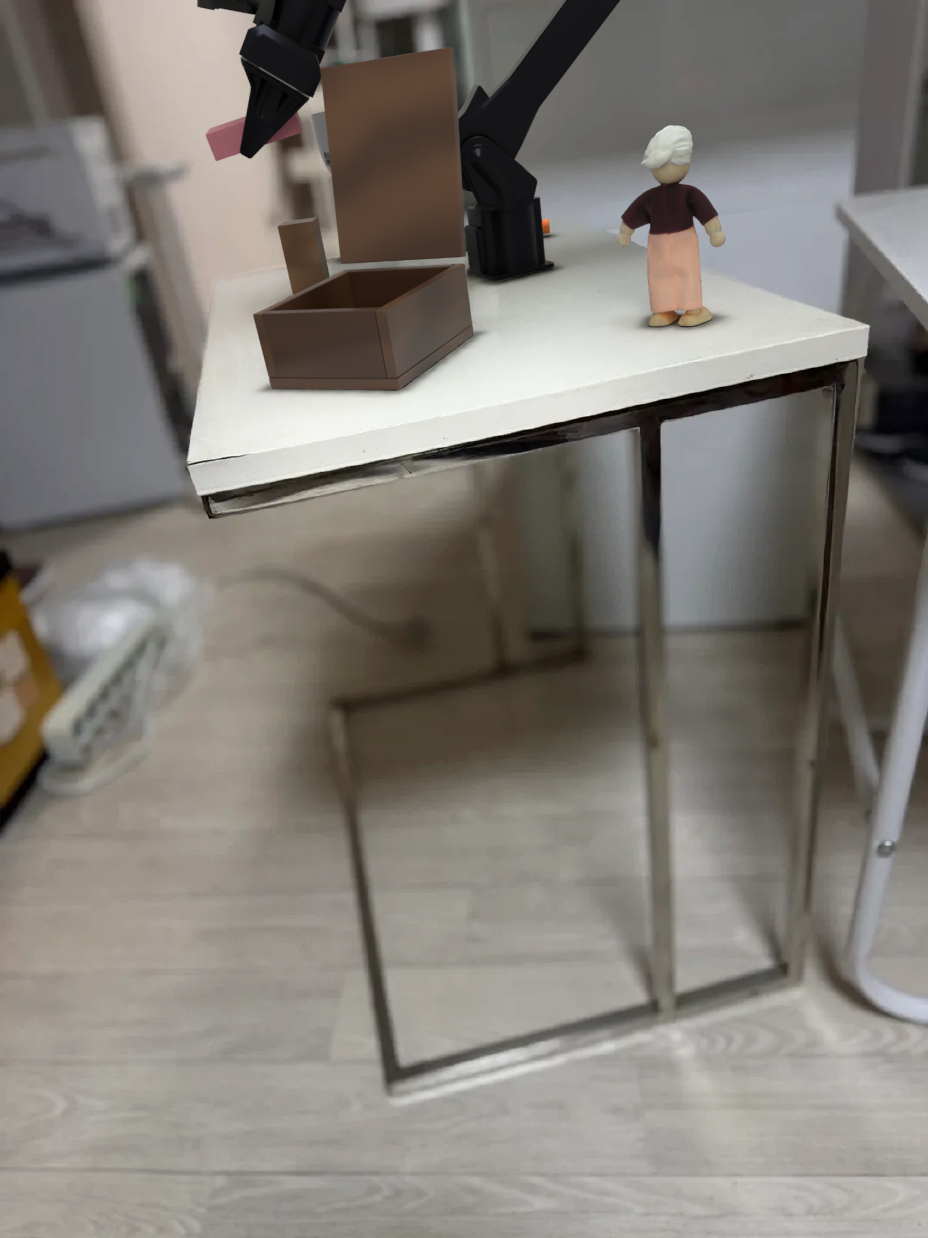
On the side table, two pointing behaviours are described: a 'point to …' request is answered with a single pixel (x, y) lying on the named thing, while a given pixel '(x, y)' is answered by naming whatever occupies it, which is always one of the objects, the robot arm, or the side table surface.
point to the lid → (396, 157)
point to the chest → (366, 328)
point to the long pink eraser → (230, 134)
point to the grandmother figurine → (672, 230)
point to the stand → (303, 253)
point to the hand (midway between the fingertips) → (246, 152)
